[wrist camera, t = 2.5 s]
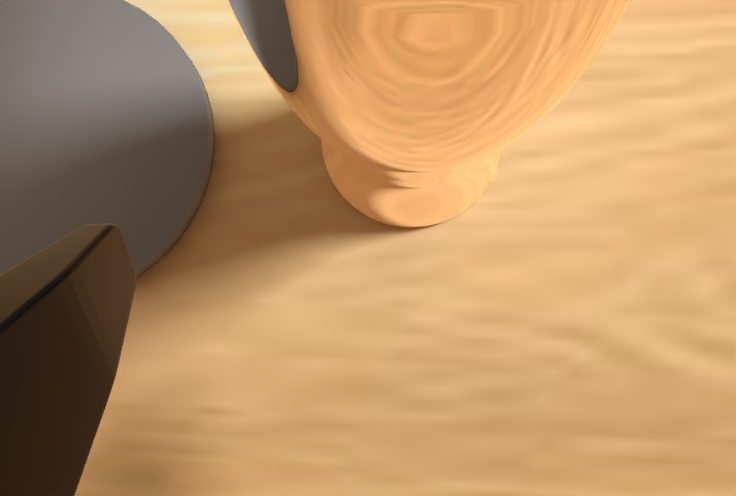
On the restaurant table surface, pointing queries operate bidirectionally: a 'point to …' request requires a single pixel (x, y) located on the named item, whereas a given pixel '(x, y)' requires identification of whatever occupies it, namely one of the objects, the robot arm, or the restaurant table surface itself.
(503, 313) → the restaurant table surface
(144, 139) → the mat
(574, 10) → the beer glass
